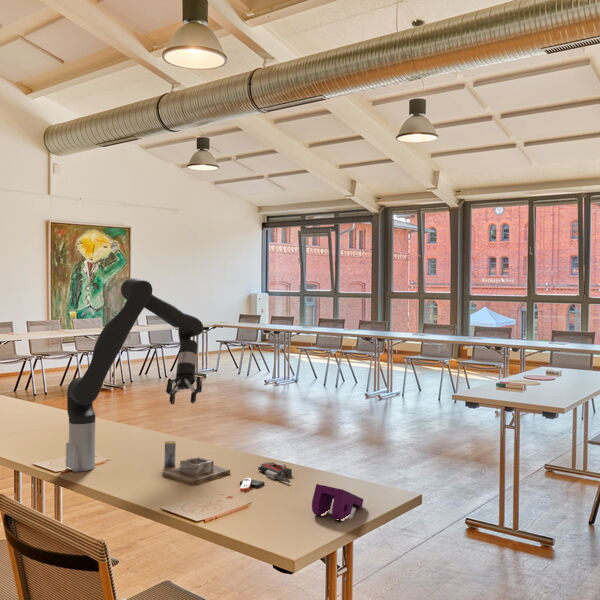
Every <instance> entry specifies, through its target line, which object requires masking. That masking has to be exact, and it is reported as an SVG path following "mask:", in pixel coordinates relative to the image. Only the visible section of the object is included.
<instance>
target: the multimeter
mask: <svg viewBox="0 0 600 600" xmlns="http://www.w3.org/2000/svg"><path fill="white" fill-rule="evenodd" d="M239 485H240V487H239V492H241V490H243V491H242V492H244V493H247V492H249V491H250V489H251V488H253V487H254V488H253V489H260V488H261V486H262V487H264V486H265V482H264V481H261V480H256V479H252V477H251V478H250V477H245V478H243V480H240V481H239ZM263 485H264V486H263ZM248 490H249V491H248Z"/></svg>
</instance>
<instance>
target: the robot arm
mask: <svg viewBox="0 0 600 600" xmlns="http://www.w3.org/2000/svg"><path fill="white" fill-rule="evenodd" d="M120 293H121V295H122V297H123V298H124V299H125V300H126V302H125V303H124V306H123V307H122V308H121V310H119V312H118V313H117V314H116V315H115V316H114V317H112V318H111V319H110V320H109V321H108V322H107V323H106V324H105V326H104V327H103V328H102V331H100V334H99V336H98V337H97V339H96V342H95V344H94V347H93V351H92V354H91V355H92V357H91V359H90V364H89V365H88V368H87V369H86V371H85V372H84V374H83V376H81V377H80V376H79V377H76V378H74V379H72V380H70V383H69V384H68V386H67V391H66V392H67V393H66V403H67V404H66V407H67V409H66V410H67V415H68V442H66V444H65V468H66V467H69V468H71V469H72V471H71V472H74V473H77V472H86V471H87V472H88V471H91V470H93V469H94V468H95V466H96V465H95V464H96V462H95V461H96V459H95V458H96V454H95V453H96V413H95V410H94V405H93V402H95V401H96V399H97V398H98V395H99V394H100V392H101V389H102V386H103V384H104V381H105V379H106V377H107V375H108V373H109V372H110V369H111V367H112V365H113V363H114V362H115V361H116V358H117V357H118V354H119V353H120V352H121V350H122V347H123V346H124V344H125V342H126V341H127V338H128V336H129V334H130V332H131V330H132V329H133V327H134V325H135V323H136V321H137V320H138V318H139V316H140V314H141V313H142V312H143V310H144V309H146V310H147V311H149V312H151V313H152V314H154V315H156V316H157V317H158V318H159V319H161V320H162V321H163V322H165V323H167V324H168V325H170V326H171V327H173V328H176V329H177V328H178V329H177V332H178V339H179V345H180V346H179V353H178V357H177V364H176V373H175V379H171V378H168V380H167V384H166V390H165V392H166V394H168V395H169V403H170V404H171V405H173V406H174V405H175V401H176V394H178V392H180V391H181V390H182V391H183V390H190V391H191V393H190V403H191V404H195V402H196V400H197V395H198V394H200V393H202V387H203V379H202V378H201V377H200V376H199V375H198V376H197V377H195V376H196V370H197V368H196V367H197V355H198V353H197V352H198V343H197V342H196V341H195V340H193V339H192V338H193V337H196V336H200V335H201V334H202V333H203V332H204V325H203V323H202V321H201V320H200V319H198V317H195V316H193V315H190V314H188V313H184V312H182V311H181V310H180V309H178V308H177V307H176V306H174V305H173V304H171V303H169V302H168V301H165V300H162V298H160V297H158V296H155V295H154V294H153V287H152V284H151V282H150V281H148V280H145V279H141V278H134V277H132V278H128V279H126V280H124V281H123V283H122V284H121V286H120ZM195 383H196V387H194V384H195Z"/></svg>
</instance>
